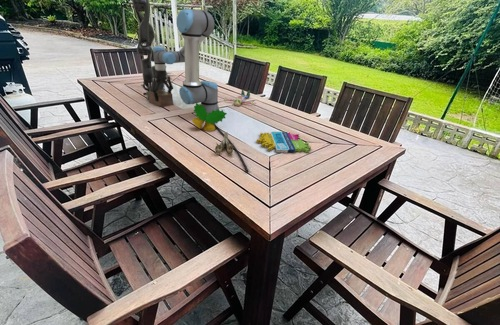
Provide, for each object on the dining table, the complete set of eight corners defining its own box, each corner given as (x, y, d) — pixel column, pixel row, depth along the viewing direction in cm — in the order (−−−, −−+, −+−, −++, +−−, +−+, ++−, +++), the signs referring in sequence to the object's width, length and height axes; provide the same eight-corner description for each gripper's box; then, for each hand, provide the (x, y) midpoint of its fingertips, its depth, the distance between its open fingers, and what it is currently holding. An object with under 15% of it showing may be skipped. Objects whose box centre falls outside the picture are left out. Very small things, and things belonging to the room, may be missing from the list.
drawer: (143, 97, 209) (142, 90, 206) (153, 96, 216) (152, 88, 212) (157, 103, 198) (156, 95, 195) (168, 101, 205) (167, 93, 202)
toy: (261, 91, 228) (254, 99, 202) (261, 99, 231) (253, 108, 205) (231, 87, 233) (220, 95, 207) (230, 95, 236) (219, 104, 210)
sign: (313, 150, 142) (258, 149, 139) (312, 153, 143) (258, 152, 140) (301, 132, 164) (254, 130, 161) (301, 134, 165) (254, 133, 162)
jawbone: (234, 135, 144) (233, 125, 135) (233, 160, 138) (232, 151, 129) (217, 135, 144) (216, 125, 135) (216, 160, 138) (214, 150, 129)
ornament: (218, 133, 171) (224, 110, 169) (221, 134, 163) (227, 111, 161) (186, 125, 162) (192, 101, 160) (189, 126, 155) (195, 101, 153)
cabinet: (149, 102, 204) (148, 91, 200) (161, 99, 211) (160, 89, 207) (161, 107, 195) (160, 95, 191) (173, 104, 203) (172, 93, 199)
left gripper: (152, 71, 209) (155, 93, 217) (137, 73, 199) (140, 96, 207) (157, 73, 204) (160, 95, 213) (142, 74, 195) (145, 98, 203)
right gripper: (170, 67, 199) (173, 96, 210) (143, 70, 183) (146, 101, 194) (176, 69, 195) (178, 98, 206) (148, 72, 179) (152, 103, 190)
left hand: (150, 95), depth 210 cm, fingers closed
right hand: (163, 99), depth 200 cm, fingers closed on cabinet, 10 cm apart
